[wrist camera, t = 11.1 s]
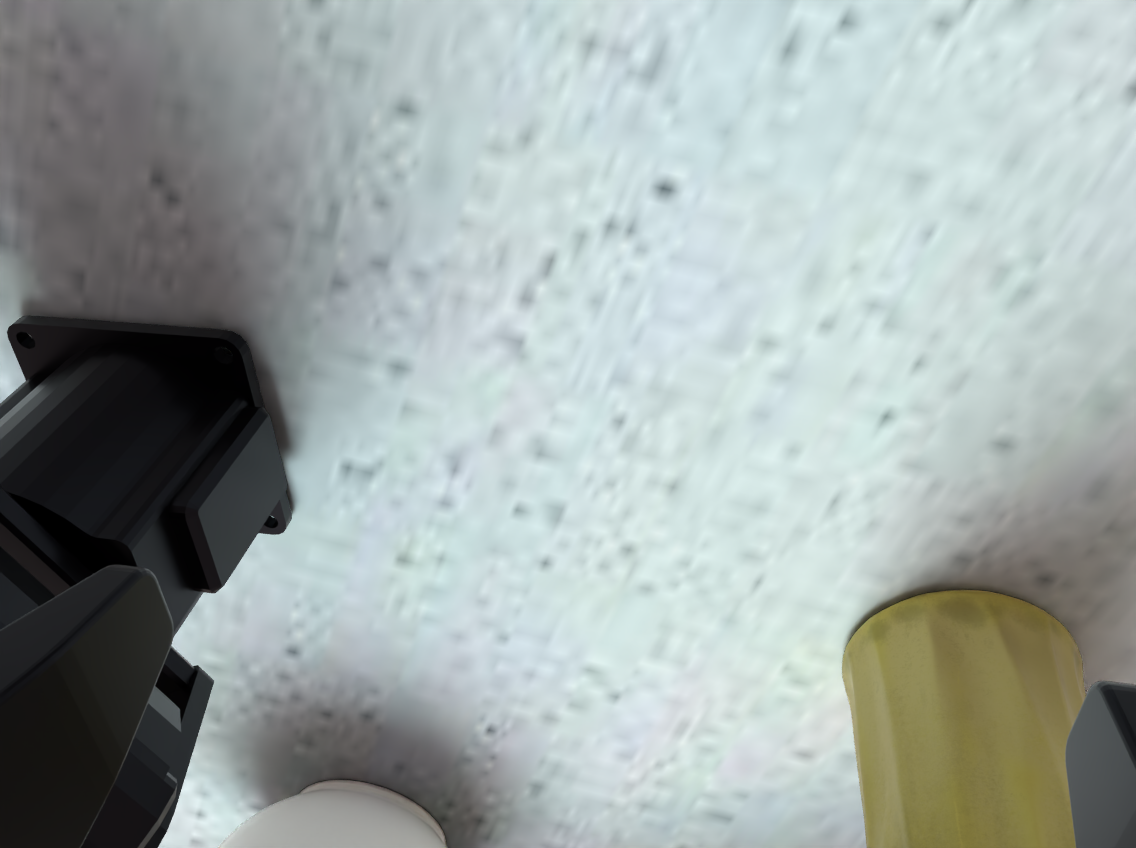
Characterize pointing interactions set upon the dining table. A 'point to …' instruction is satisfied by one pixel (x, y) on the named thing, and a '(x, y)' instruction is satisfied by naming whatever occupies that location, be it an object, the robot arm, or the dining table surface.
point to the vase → (964, 722)
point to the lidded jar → (340, 820)
